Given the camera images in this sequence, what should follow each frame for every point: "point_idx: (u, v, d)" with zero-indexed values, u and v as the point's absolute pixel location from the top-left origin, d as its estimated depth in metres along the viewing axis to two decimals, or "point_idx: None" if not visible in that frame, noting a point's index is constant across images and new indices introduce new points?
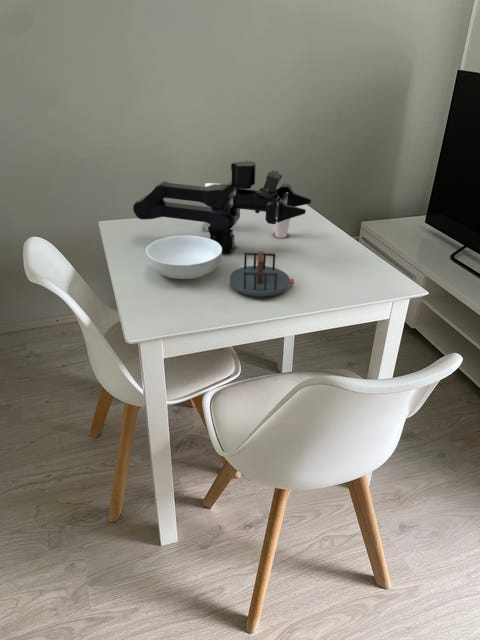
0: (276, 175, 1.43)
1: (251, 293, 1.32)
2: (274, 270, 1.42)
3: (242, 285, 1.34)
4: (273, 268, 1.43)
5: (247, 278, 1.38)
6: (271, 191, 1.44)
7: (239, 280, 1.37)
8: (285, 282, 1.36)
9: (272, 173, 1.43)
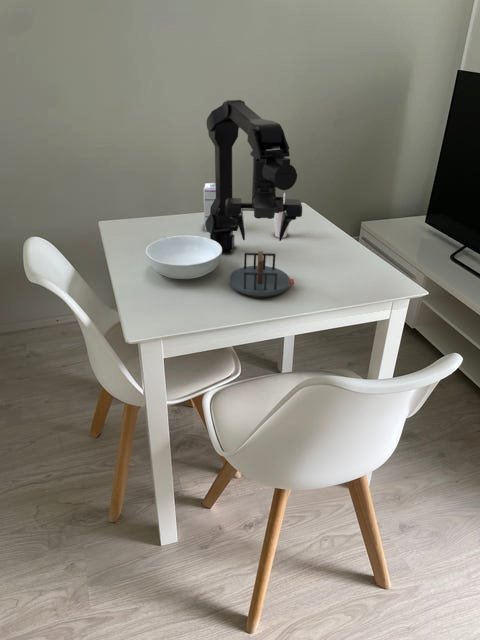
0: (261, 214, 1.21)
1: (251, 293, 1.32)
2: (274, 270, 1.42)
3: (242, 285, 1.34)
4: (273, 268, 1.43)
5: (247, 278, 1.38)
6: None
7: (239, 280, 1.37)
8: (285, 282, 1.36)
9: (262, 210, 1.20)
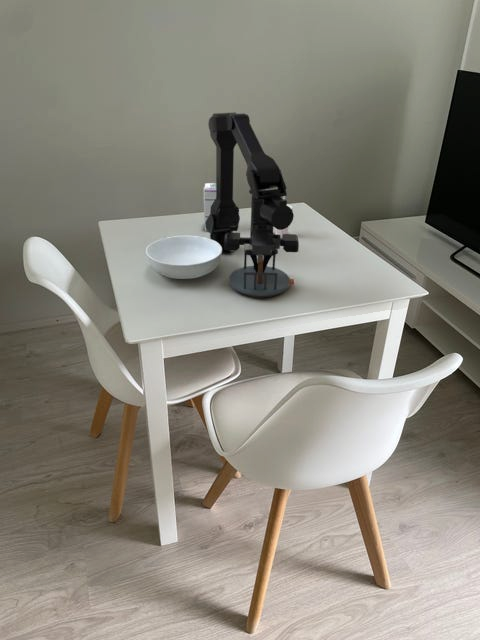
0: (259, 251, 1.25)
1: (251, 293, 1.32)
2: (274, 270, 1.42)
3: (242, 285, 1.34)
4: (273, 268, 1.43)
5: (247, 278, 1.38)
6: None
7: (239, 280, 1.37)
8: (285, 282, 1.36)
9: (259, 247, 1.24)
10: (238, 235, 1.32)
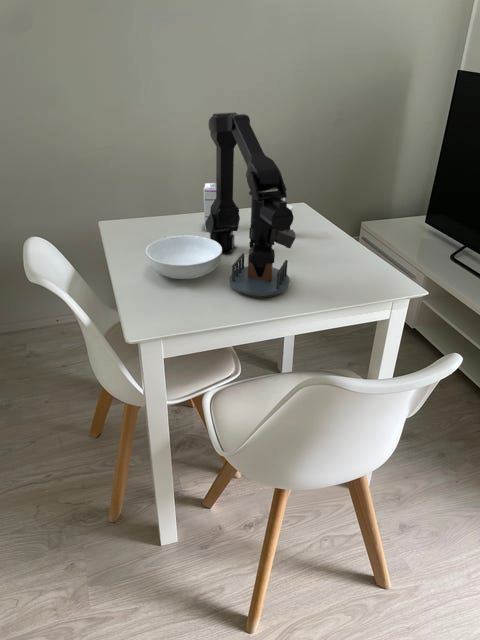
0: None
1: (285, 288, 1.34)
2: (246, 268, 1.43)
3: (271, 288, 1.33)
4: (243, 268, 1.42)
5: (257, 283, 1.35)
6: (276, 241, 1.30)
7: (259, 288, 1.33)
8: (273, 269, 1.43)
9: None
10: (260, 247, 1.27)
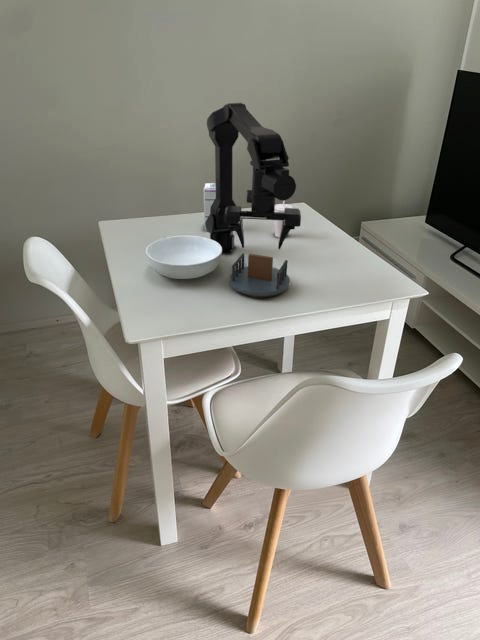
0: None
1: (285, 288, 1.34)
2: (246, 268, 1.43)
3: (271, 288, 1.33)
4: (243, 268, 1.42)
5: (257, 283, 1.35)
6: None
7: (259, 288, 1.33)
8: (273, 269, 1.43)
9: None
10: (286, 211, 1.28)
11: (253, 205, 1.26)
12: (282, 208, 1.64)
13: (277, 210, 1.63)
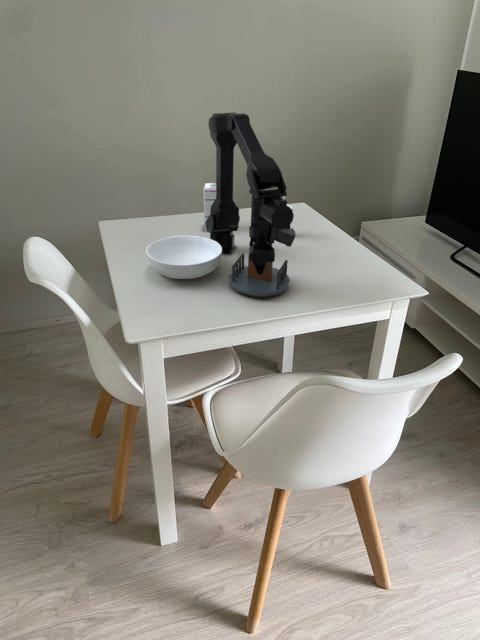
0: None
1: (285, 288, 1.34)
2: (246, 269, 1.43)
3: (271, 288, 1.33)
4: (243, 268, 1.42)
5: (257, 283, 1.35)
6: (277, 240, 1.30)
7: (259, 288, 1.33)
8: (273, 269, 1.43)
9: None
10: (260, 245, 1.27)
11: None
12: None
13: None
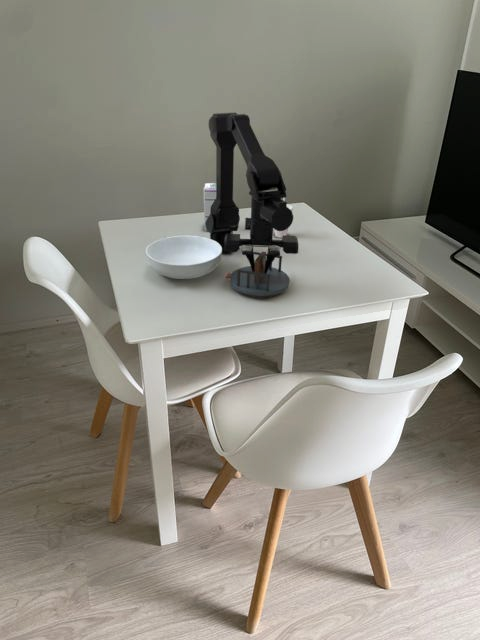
0: None
1: None
2: None
3: (280, 274, 1.40)
4: None
5: (271, 279, 1.37)
6: None
7: (280, 278, 1.38)
8: None
9: None
10: (284, 239, 1.32)
11: (252, 234, 1.30)
12: None
13: None
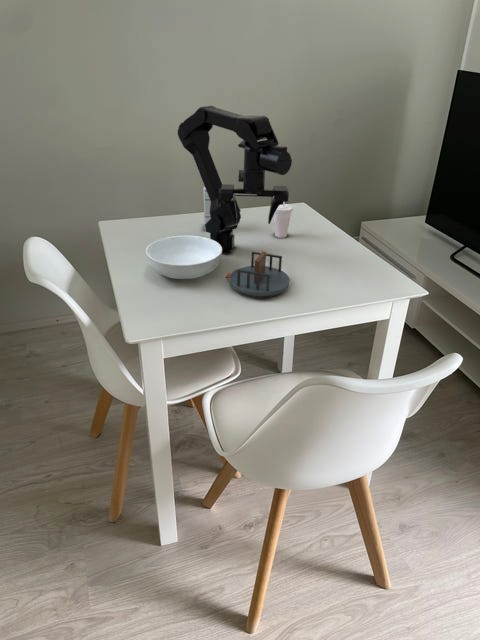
0: None
1: None
2: None
3: (280, 274, 1.40)
4: None
5: (271, 279, 1.37)
6: None
7: (280, 278, 1.38)
8: None
9: None
10: (275, 188, 1.40)
11: (245, 183, 1.38)
12: (282, 208, 1.64)
13: (277, 210, 1.63)
